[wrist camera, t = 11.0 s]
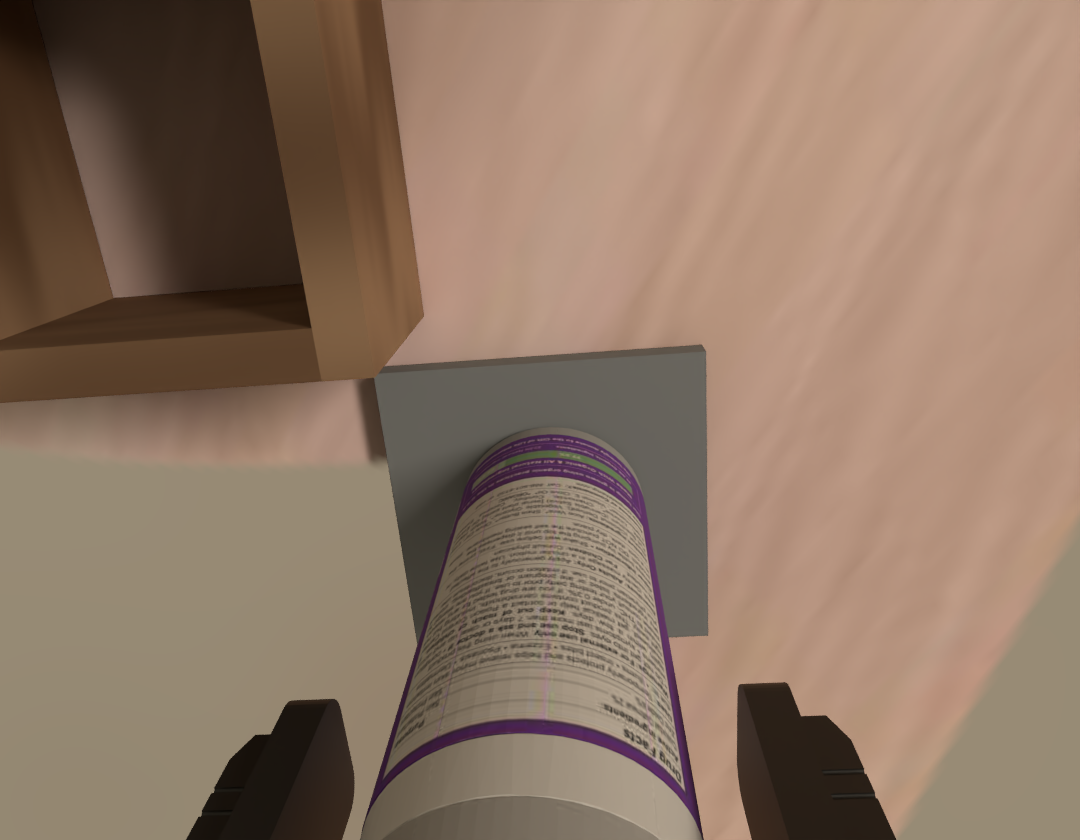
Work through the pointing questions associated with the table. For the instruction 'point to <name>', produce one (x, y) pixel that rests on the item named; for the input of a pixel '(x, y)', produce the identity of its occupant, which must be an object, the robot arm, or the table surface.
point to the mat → (568, 402)
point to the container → (542, 665)
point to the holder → (223, 315)
